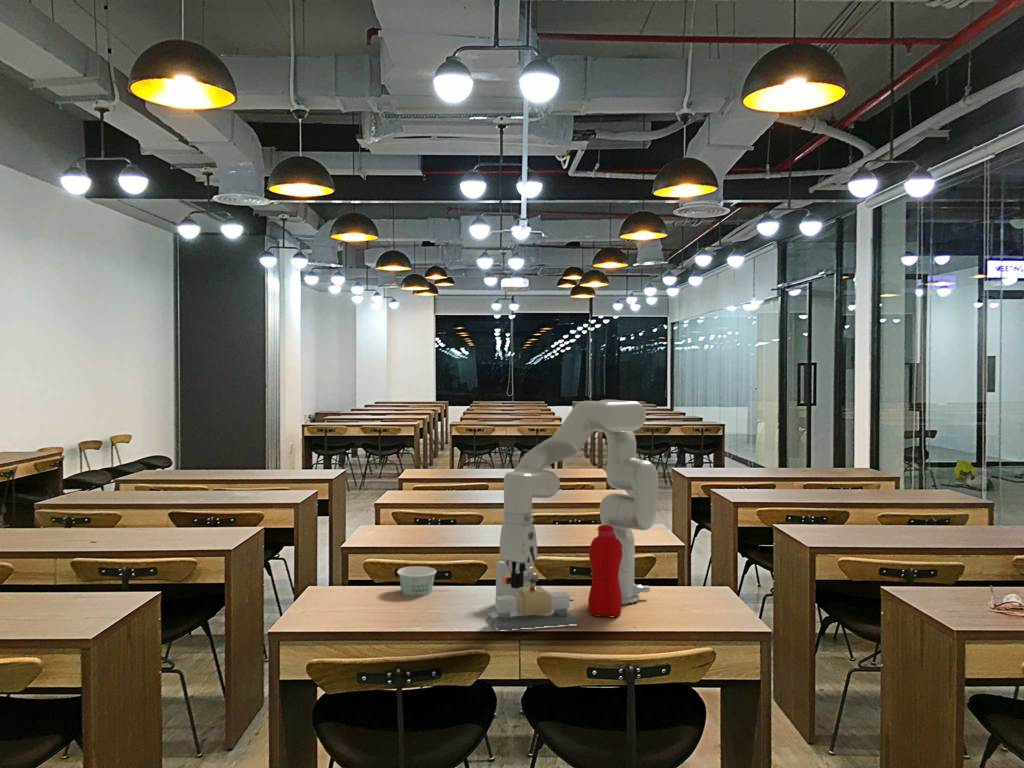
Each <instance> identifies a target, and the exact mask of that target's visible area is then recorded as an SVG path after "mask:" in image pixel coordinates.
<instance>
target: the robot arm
mask: <svg viewBox="0 0 1024 768" xmlns="http://www.w3.org/2000/svg"><path fill="white" fill-rule="evenodd" d="M646 418H647V413H646V409H645V407H644V406H643V405H642V403H640V402H638V401H634V400H619V399H601V400H583V401H579V402H578V403H577V404H575V405H574V407H573V408H572V409H571V410H570V412H569V414H568V415H567V417H566V418H565V419H564V420H563V422H562V424H561V425H560V426H559V428H557V430H556V431H555V433H554V434H553V435H552V436H551V437H549V438H547V439H545V440H543V441H542V442H541V443H539V444H537V445H536V446H534V447H532V449H530V450H529V451H527V452H526V454H525V455H524V456H523V457H522V458H521V460H519V462H518V464H517V465H516V466H515V468H514V469H513V471H510V472H509V471H508V472H507V473H506V474H505V475H504V478H503V521H502V525H501V529H500V536H499V537H500V538H499V555H500V558H501V561H502V562H504V563H505V564H507V565H508V567H509V571H510V572H511V587H512V588H515V589H516V588H520V587H523V578H524V572H525V571H526V569H527V568H530V569H533V568H534V562H535V561H537V560H538V543H537V542H538V541H537V533H536V528H535V524H533V522H534V520H535V518H534V517H533V499H535V498H536V499H538V498H539V499H549V498H553V496H555V495H556V494H557V493H558V492H559V490H560V487H561V481H560V478H559V476H558V475H557V474H556V473H555V472H553V471H551V470H549V469H548V470H547V469H545V468H546V467H548V466H549V465H552V464H553V463H557V462H561V461H565V460H567V459H570V458H572V457H573V458H574V457H576V456H577V455H578V454H579V453H580V452H581V450H582V448H583V447H584V446H585V444H586V442H587V441H588V440H589V439H590V438H591V436H592V434H593V433H594V432H601V433H604V435H605V437H606V440H607V441H606V442H607V457H606V459H607V460H606V461H607V462H606V482H607V484H608V485H609V486H610V487H612V488H614V489H617V490H621V491H627V492H633V495H630V494H624V493H619V492H618V493H616V492H615V493H609V494H607V495H605V496H604V497H603V498H602V499H601V501H600V504H599V518H600V523H601V525H609V526H612V527H613V528H614V533H615V534H616V535H615V536H616V538H617V539H618V540H619V541H620V543H621V544H622V545H623V546H622V558H621V562H620V567H619V573H618V580H619V585H620V591H621V596H622V605H629V604H628V603H632V604H634V603H633V602H636V603H637V602H639V601H638V600H640V594H641V593H649V592H650V590H651V589H650V586H649V585H642V584H636V583H635V557H636V556H635V554H636V553H635V552H636V551H635V547H636V545H635V544H636V543H635V542H636V540H635V536H634V533H633V530H637V531H647V530H649V529H651V528H652V527H653V526H654V523H655V522H656V517H657V510H658V495H659V492H658V491H659V475H658V474H659V473H658V470H657V468H656V466H655V465H654V464H653V463H652V462H651V461H648V460H644V459H638V458H637V440H636V435H635V433H634V432H635V431H638V430H639V429H641V428H642V427H643V426H644V424H645V422H646ZM624 548H625V550H624ZM625 551H626V553H625ZM626 555H627V557H626ZM627 560H628V562H627ZM622 570H623V571H624V572H626V573H624V572H623V571H622ZM627 570H628V571H627Z"/></svg>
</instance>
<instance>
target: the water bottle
mask: <svg viewBox="0 0 1024 768" xmlns="http://www.w3.org/2000/svg"><path fill="white" fill-rule="evenodd" d="M596 530H597V531H598V533H597V535H598V536H596V537H593V540H592V541H591V543H590V545H589V549H588V558H589V563H590V568H591V572H592V573H591V574H592V575H591V576H592V581H591V585H590V589H589V593H588V594H589V595H588V598H587V601H588V603H587V609H588V613H589V614H590V615H591V614H592V615H591V616H593V615H599V616H598V617H601V616H616V617H618V616H620V615H621V612H622V607H623V604H622V596H621V591H620V585H619V580H618V573H619V567H620V562H621V558H622V546H623V545H622V544H621V543H620V541H619V540H618V539H617V538H616V536H615V535H616V534H615V533H614V528H613V527H612V526H609V525H602V524H600V525H598V528H596ZM624 550H625V548H624ZM625 553H626V551H625ZM626 557H627V555H626ZM627 562H628V560H627ZM622 571H623V570H622ZM627 571H628V570H627ZM623 572H624V571H623ZM624 573H626V572H624Z"/></svg>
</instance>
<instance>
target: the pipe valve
mask: <svg viewBox="0 0 1024 768" xmlns="http://www.w3.org/2000/svg"><path fill="white" fill-rule="evenodd" d="M536 582H537V581H530V587H520V588H519V592H514V595H506V596H496V595H495V596H494V597H495V598H494V601H495V607H494V608H495V611H496V613H497V612H498V617H499V619H500V620H501V621H510V612H517V614H518V615H521V614H524V615H536V614H546V613H550V612H551V610H553V609H554V613H555V614H556V615H557V616H558V617H567V611H568V609H570V608H571V606H570V604H571V603H570V602H571V601H570V598H571V597H570V594H569V593H567V591H559V592H557V591H556V592H549V591H548V590H546V589H544V588H543V586H540V585H536V584H537V583H536Z"/></svg>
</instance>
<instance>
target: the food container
mask: <svg viewBox="0 0 1024 768" xmlns="http://www.w3.org/2000/svg"><path fill="white" fill-rule="evenodd" d="M396 573H397V574H398V578H399V579H398V580H399V584H400V591H401V594H402V593H403V594H402V595H404V594H405V596H408V595H412V596H411V597H423V596H427V595H431V593H432V591H433V586H434V581H435V576H436V573H437V570H436V568H433V567H430V566H420V565H419V566H417V565H416V566H407V567H406V566H405V567H401V568H399V569H398V570H397V571H396ZM422 595H423V596H422Z"/></svg>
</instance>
